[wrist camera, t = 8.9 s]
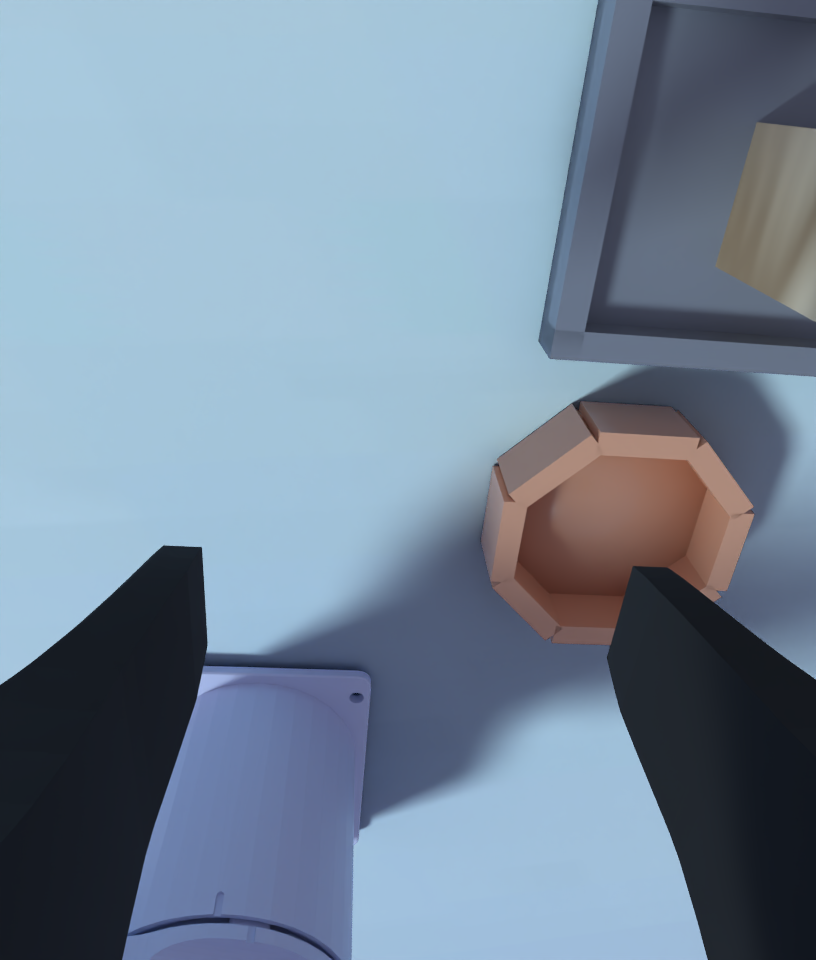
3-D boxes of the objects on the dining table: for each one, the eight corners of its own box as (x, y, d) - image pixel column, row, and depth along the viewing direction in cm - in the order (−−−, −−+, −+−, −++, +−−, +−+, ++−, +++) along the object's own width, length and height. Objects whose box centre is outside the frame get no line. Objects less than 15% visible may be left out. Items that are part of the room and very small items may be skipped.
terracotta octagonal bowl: (680, 605, 26) (705, 648, 24) (471, 597, 25) (480, 640, 24) (745, 411, 23) (780, 442, 21) (503, 396, 22) (516, 427, 20)
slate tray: (930, 368, 22) (965, 386, 21) (538, 341, 21) (549, 358, 20) (1087, 15, 18) (1144, 11, 17) (604, -39, 17) (625, -49, 16)
